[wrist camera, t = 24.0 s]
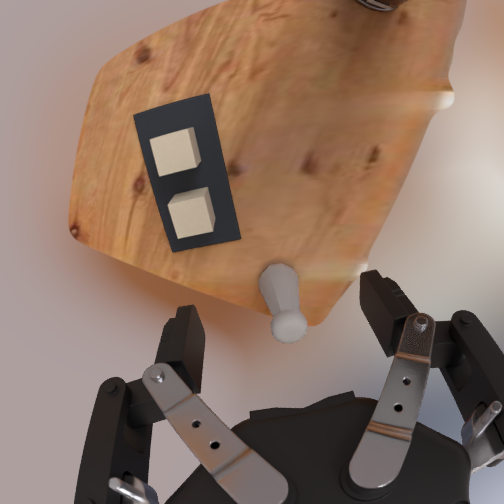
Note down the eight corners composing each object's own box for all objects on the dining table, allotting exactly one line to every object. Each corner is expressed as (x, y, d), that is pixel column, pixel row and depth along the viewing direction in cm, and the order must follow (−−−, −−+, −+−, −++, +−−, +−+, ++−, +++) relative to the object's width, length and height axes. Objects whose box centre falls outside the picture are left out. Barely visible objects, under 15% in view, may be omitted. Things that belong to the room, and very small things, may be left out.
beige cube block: (174, 194, 36) (166, 205, 32) (207, 186, 36) (204, 196, 32) (183, 225, 39) (177, 239, 35) (215, 218, 38) (213, 231, 34)
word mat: (134, 115, 32) (133, 115, 31) (209, 93, 31) (209, 93, 31) (173, 251, 41) (172, 252, 40) (241, 237, 40) (241, 239, 40)
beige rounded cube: (158, 136, 33) (148, 139, 29) (193, 126, 33) (187, 128, 29) (167, 169, 35) (158, 176, 31) (201, 160, 35) (196, 167, 31)
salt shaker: (250, 280, 44) (255, 341, 32) (270, 251, 41) (283, 307, 30) (281, 295, 45) (296, 356, 34) (303, 268, 43) (325, 325, 32)
